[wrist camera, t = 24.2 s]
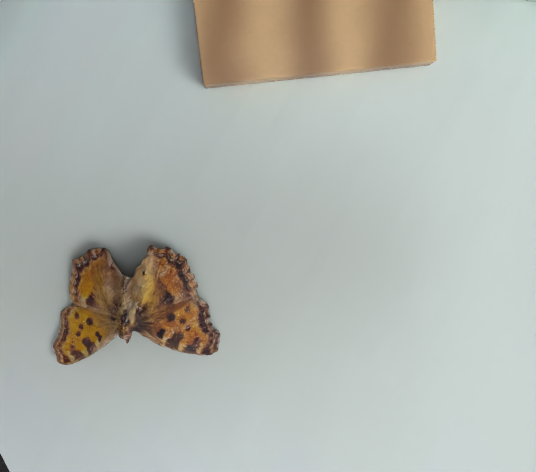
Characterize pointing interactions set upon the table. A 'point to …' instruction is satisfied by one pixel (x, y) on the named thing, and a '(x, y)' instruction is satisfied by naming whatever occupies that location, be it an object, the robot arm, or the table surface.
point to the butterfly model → (134, 306)
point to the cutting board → (310, 38)
